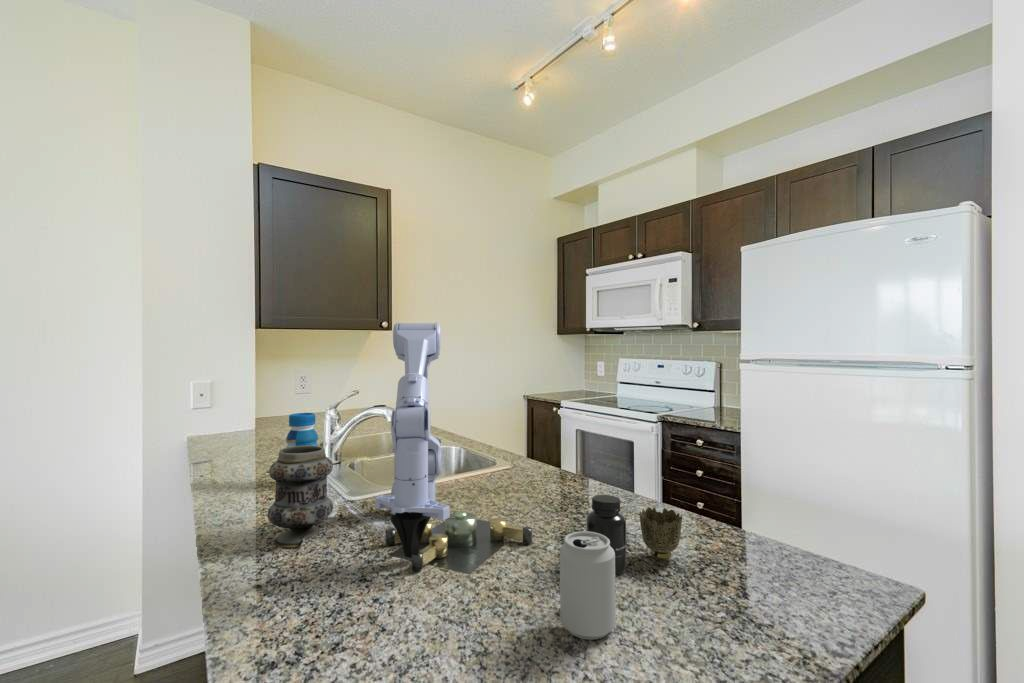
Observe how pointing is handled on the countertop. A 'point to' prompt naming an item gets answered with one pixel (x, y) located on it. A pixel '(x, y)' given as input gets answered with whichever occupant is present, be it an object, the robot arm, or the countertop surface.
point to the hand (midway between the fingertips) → (411, 555)
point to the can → (587, 585)
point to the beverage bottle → (302, 430)
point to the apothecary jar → (300, 493)
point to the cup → (660, 532)
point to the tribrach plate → (463, 553)
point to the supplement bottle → (609, 526)
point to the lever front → (430, 551)
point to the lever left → (394, 537)
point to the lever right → (509, 531)
